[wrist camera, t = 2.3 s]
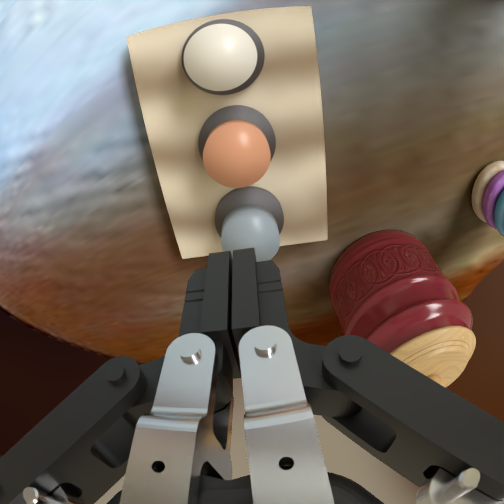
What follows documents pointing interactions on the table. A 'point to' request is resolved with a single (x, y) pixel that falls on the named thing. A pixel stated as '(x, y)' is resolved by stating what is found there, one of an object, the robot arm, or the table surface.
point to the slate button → (251, 231)
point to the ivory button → (220, 57)
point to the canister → (403, 304)
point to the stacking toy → (490, 195)
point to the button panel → (237, 107)
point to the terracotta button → (236, 153)
